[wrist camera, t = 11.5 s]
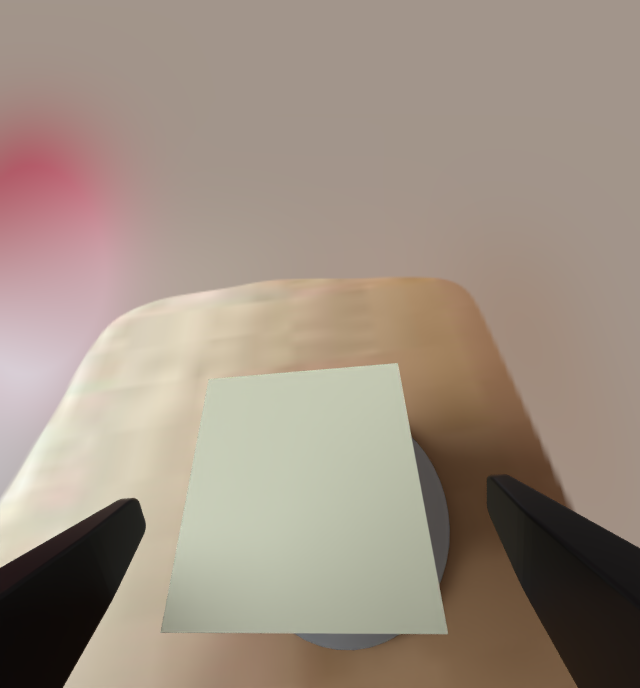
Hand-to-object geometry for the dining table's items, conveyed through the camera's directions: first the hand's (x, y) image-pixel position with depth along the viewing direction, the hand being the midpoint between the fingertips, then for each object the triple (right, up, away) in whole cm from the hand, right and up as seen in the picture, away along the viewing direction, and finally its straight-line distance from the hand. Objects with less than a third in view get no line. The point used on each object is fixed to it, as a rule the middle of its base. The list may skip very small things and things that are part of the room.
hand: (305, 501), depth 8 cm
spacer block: (+1, -5, +8) cm, 9 cm away
